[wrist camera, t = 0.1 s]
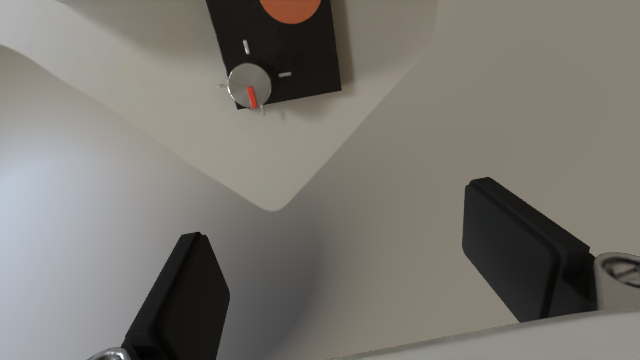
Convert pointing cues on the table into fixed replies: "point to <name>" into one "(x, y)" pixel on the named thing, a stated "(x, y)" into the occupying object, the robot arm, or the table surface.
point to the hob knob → (251, 83)
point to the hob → (278, 47)
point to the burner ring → (291, 9)
